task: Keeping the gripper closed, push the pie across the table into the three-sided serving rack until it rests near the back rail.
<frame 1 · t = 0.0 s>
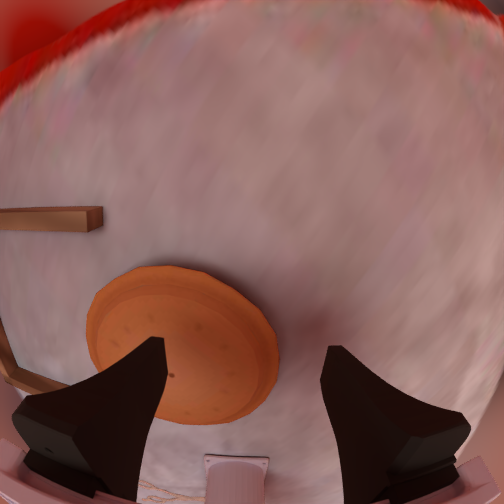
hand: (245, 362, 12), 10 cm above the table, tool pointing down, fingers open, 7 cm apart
scissors: (187, 495, 33), on the table
serving rack: (43, 315, 22), on the table
pie: (184, 336, 23), on the table
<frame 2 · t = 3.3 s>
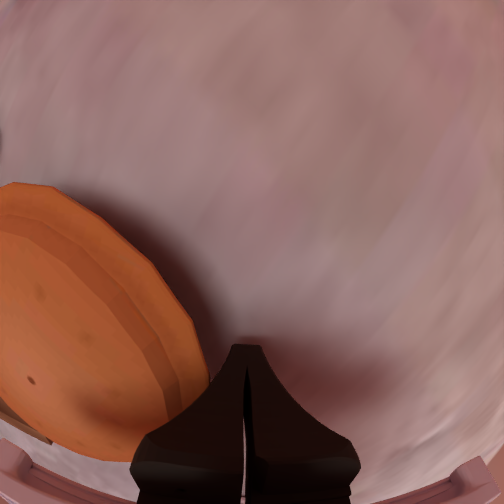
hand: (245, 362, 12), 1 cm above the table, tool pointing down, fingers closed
pie: (81, 323, 13), on the table, touching gripper
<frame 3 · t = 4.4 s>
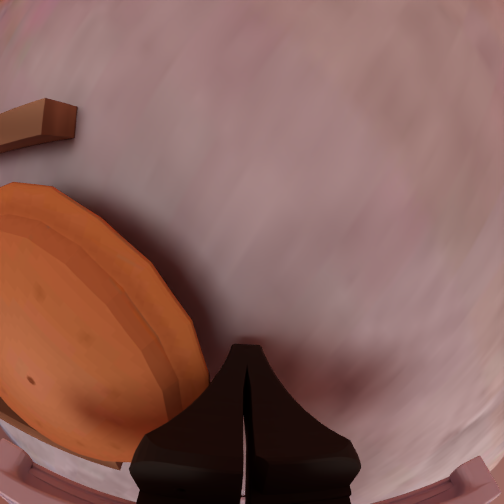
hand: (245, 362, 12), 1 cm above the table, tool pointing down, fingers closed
pie: (81, 323, 13), on the table, touching gripper
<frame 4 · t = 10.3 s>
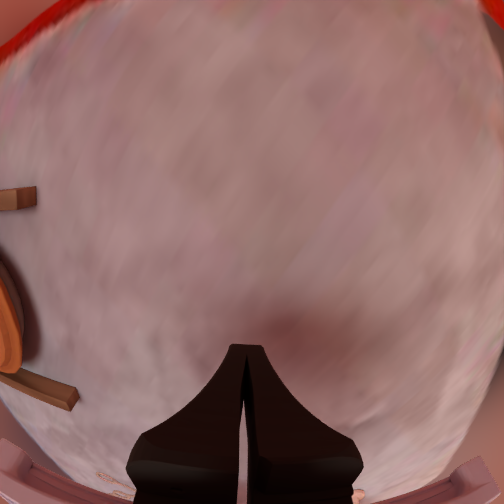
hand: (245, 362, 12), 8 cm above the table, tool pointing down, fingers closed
scissors: (150, 492, 31), on the table
candle: (343, 497, 31), on the table
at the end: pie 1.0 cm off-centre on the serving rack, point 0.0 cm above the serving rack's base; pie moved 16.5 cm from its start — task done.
